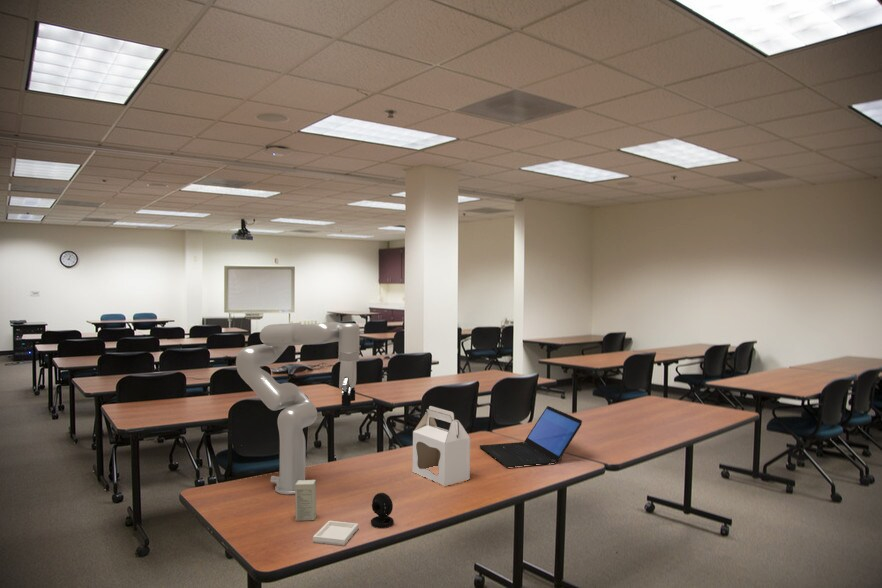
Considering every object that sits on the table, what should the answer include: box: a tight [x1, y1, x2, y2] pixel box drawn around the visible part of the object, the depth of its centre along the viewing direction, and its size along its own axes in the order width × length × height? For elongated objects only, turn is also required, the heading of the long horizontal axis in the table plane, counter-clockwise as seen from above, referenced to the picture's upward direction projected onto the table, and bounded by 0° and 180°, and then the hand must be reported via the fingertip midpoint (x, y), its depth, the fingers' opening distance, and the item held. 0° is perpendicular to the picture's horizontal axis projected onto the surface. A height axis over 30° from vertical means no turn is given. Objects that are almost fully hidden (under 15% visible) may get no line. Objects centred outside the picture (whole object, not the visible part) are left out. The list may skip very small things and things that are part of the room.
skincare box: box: [294, 479, 317, 522], centre depth 185 cm, size 6×4×12 cm
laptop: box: [479, 405, 583, 468], centre depth 261 cm, size 33×38×19 cm
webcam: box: [370, 492, 395, 529], centre depth 182 cm, size 8×8×10 cm
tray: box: [312, 520, 359, 547], centre depth 172 cm, size 10×12×2 cm
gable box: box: [412, 405, 471, 486], centre depth 229 cm, size 22×13×28 cm, turn 38°
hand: (348, 403), depth 204 cm, fingers open, 9 cm apart
